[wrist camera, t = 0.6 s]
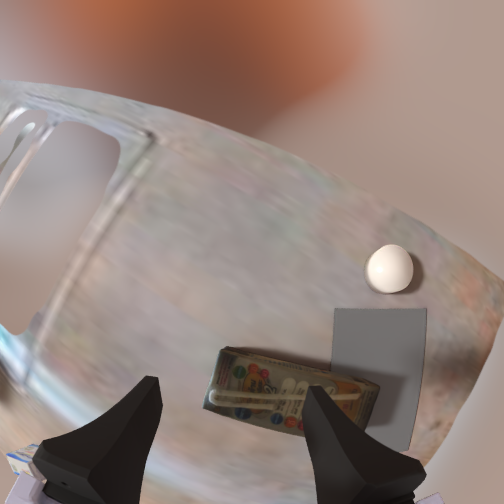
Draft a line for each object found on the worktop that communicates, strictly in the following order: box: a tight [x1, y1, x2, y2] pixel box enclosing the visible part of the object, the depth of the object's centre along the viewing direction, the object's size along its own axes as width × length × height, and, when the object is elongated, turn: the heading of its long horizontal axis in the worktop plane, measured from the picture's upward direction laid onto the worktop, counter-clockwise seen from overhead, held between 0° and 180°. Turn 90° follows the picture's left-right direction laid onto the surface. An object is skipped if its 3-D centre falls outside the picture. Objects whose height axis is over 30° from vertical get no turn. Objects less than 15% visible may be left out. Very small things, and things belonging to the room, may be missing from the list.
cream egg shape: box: [364, 245, 413, 294], centre depth 34 cm, size 6×6×4 cm
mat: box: [330, 308, 426, 452], centre depth 31 cm, size 22×14×1 cm, turn 176°
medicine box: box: [6, 444, 46, 482], centre depth 26 cm, size 8×4×9 cm, turn 104°
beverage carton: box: [202, 346, 380, 437], centre depth 29 cm, size 8×19×7 cm, turn 74°
